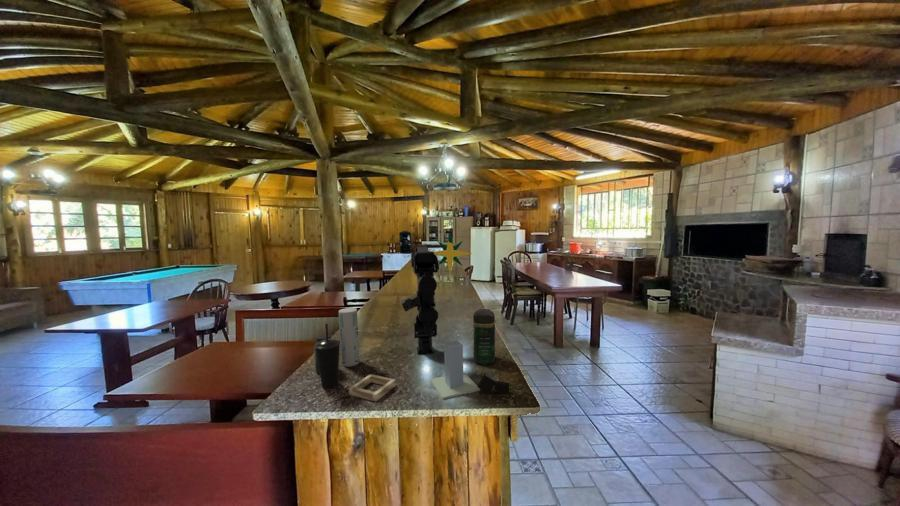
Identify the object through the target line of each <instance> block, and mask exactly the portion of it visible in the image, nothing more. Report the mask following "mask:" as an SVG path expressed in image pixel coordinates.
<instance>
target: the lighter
mask: <svg viewBox="0 0 900 506" xmlns="http://www.w3.org/2000/svg"><path fill="white" fill-rule="evenodd" d="M495 376H496V375H495V373H494V372H488V373H484V374H483V376H482V377H481V379H480V381H479V382H478V383H477V384H476V385H477V387H478V388H480V390H482V391H483V392H485V393H487V394H488V395H489V394H491V392H492V391H493V389H494V392H496V393H498V394H502V395H503V394H504V395H505V394H506V395H508V394H509V392H510V387H511V383H510V382H505V381H501V380H497V378H495Z"/></svg>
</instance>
